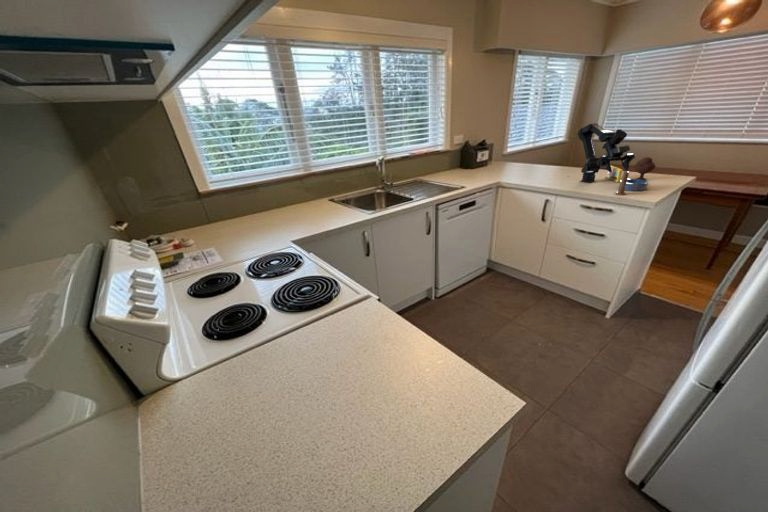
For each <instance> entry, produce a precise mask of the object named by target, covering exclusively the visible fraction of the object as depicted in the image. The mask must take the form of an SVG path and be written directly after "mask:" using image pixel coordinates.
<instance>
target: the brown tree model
mask: <svg viewBox="0 0 768 512" xmlns="http://www.w3.org/2000/svg"><path fill="white" fill-rule="evenodd" d="M656 166H657V165H656V164H655V163H654V162H653V158H652V157H650V156H646V157H642V158H641V159H639V160H638V161H637V162H636V163H635V164H633V168H634V171H636V172H637V174H639V175H640V176H639V177H636V179H640V180H645V181H647V178H645V177H644V176H645V174H648V173H650V172H652V171H654V170H655V169H656Z"/></svg>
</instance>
